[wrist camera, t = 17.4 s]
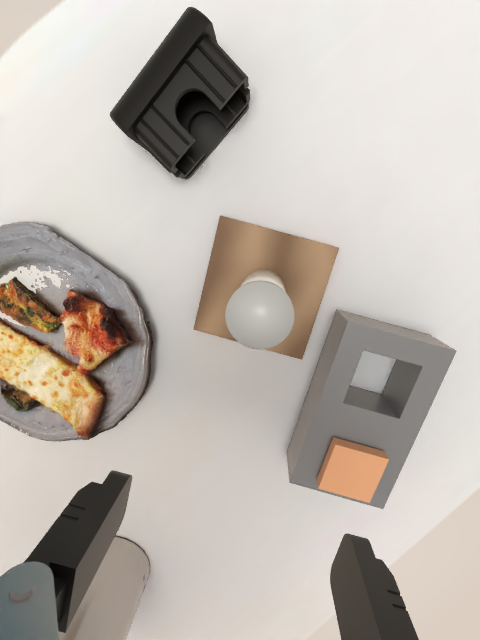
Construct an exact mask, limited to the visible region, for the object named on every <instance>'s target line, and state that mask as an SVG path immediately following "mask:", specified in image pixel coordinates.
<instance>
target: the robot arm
mask: <svg viewBox="0 0 480 640" xmlns="http://www.w3.org/2000/svg"><path fill="white" fill-rule="evenodd" d="M131 481H132V475H128V474H125V473H121V472H117V471H113V470H112V471H111V472H110V473H109V475H108V476H107V478H106V479H105V481H104V482H103V484H98V483H95V482H91V483H89V484H88V485H86V486H85V487H83V488H82V489H80V490H79V491H78V492H77V493H76V495H75V496H74V497H73V499H72V500H71V501H70V503H69V505H68V506H67V507H66V508H65V509H64V511H63V512H62V513H61V515H60V517H58V519H57V520H56V521H55V523H54V524H53V525H52V526H51V528H50V529H49V530H48V532H47V533H46V534H45V536H44V537H43V538H42V540H41V541H40V542H39V544H38V545H37V546H36V548H35V549H34V550H33V552H32V553H31V554H30V556H29V557H28V558H27V559H26V560H25V561H24V562H23V563H22V564H19V565H17V566H15V567H13V568H11V569H10V570H8V571H7V572H6V573H4V574H3V575H2V576H1V577H0V640H126V638H127V635H128V632H129V629H130V627H131V624H132V621H133V618H134V615H135V613H136V610H137V607H138V604H139V601H140V598H141V595H142V593H143V591H144V588H145V585H146V581H147V578H148V575H149V572H150V565H149V561H148V558H147V556H146V555H145V553H144V552H143V551H142V550H141V549H140V548H139V547H138V546H137V545H135V544H134V543H132V542H130V541H128V540H126V539H123V538H119V537H115V535H116V533H117V531H118V529H119V527H120V525H121V522H122V520H123V517H124V514H125V510H126V506H127V501H128V496H129V491H130V486H131ZM330 583H331V590H332V595H333V600H334V605H335V610H336V615H337V620H338V624H339V629H340V635H341V640H419V639H418V637H417V634H416V632H415V629H414V627H413V624H412V622H411V619H410V617H409V614H408V611H406V607H405V604H404V601H403V599H402V597H401V596H400V591H399V589H398V586H397V584H396V581H395V579H394V576H393V575H392V573H391V572H390V571H389V569H388V568H387V566H386V565H385V564H384V562H383V561H382V560H380V559H376V558H375V555H374V552H373V550H372V547H371V544H370V542H369V540H368V539H366V538H362V537H358V536H354V535H351V534H345V535H344V537H343V539H342V541H341V544H340V546H339V549H338V551H337V554H336V556H335V559H334V561H333V564H332V567H331V574H330Z"/></svg>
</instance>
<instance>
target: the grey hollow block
mask: <svg viewBox="0 0 480 640" xmlns="http://www.w3.org/2000/svg"><path fill="white" fill-rule="evenodd" d="M363 350H365V351H369V352H372V353H376V354H380V355H383V356H387V357H391V358H394V359H397V360H396V362H395V364H394V367H393V369H392V372H391V374H390V376H389V379H388V381H387V384H386V386H385V388H384V391H383V393H382V395H381V394H378V393H374V392H371V391H367V390H363V389H360V388H356V387H353V386H350V383H351V381H352V378H353V375H354V373H355V370H356V368H357V365H358V362H359V360H360V357H361V355H362V352H363ZM455 353H456V350H454V349H453V348H451V347H449V346H447V345H446V344H444V343H442V342H441V341H439V340H437V339H436V338H434V337H432V336H431V335H428V334H425V333H421V332H417V331H414V330H410V329H406V328H403V327H399V326H395V325H392V324H388V323H384V322H381V321H377V320H374V319H370V318H366V317H363V316H359V315H355V314H352V313H348V312H344V311H341V310H336V313H335V316H334V319H333V321H332V324H331V327H330V330H329V333H328V336H327V339H326V342H325V344H324V347H323V350H322V353H321V356H320V359H319V362H318V364H317V367H316V370H315V373H314V376H313V379H312V382H311V384H310V387H309V390H308V393H307V396H306V399H305V402H304V404H303V407H302V410H301V413H300V416H299V419H298V422H297V424H296V427H295V430H294V433H293V436H292V439H291V442H290V444H289V447H288V450H287V459H288V470H289V482H290V483H293V484H296V485H300V486H304V487H307V488H311V489H314V490H318V491H321V492H325V493H328V494H332V495H335V496H339V497H342V498H346V499H349V500H353V501H357V502H360V503H364V504H367V505H371V506H374V507H378V508H381V509H383V508H384V506H385V504H386V501H387V499H388V497H389V495H390V493H391V491H392V488H393V486H394V484H395V482H396V480H397V478H398V476H399V473H400V471H401V469H402V467H403V465H404V463H405V461H406V458H407V456H408V454H409V452H410V450H411V448H412V446H413V443H414V441H415V439H416V437H417V435H418V433H419V431H420V428H421V426H422V424H423V422H424V420H425V418H426V415H427V413H428V411H429V409H430V407H431V405H432V403H433V400H434V398H435V396H436V394H437V392H438V390H439V388H440V385H441V383H442V381H443V379H444V377H445V375H446V373H447V370H448V368H449V366H450V364H451V362H452V360H453V357H454V355H455ZM333 437H335V438H339V439H342V440H346V441H349V442H353V443H356V444H360V445H364V446H367V447H371V448H374V449H378V450H381V451H385V453H386V455H387V456H388V458H389V461H388V463H387V466H386V468H385V470H384V472H383V474H382V477H381V479H380V481H379V483H378V486H377V488H376V490H375V492H374V494H373V497H372V499H371V501H370V503H367V502H364V501H360V500H357V499H353V498H350V497H346V496H342V495H339V494H335V493H332V492H328V491H325V490H321V489H318V485H317V477H318V475H319V472H320V470H321V467H322V464H323V462H324V459H325V457H326V454H327V452H328V449H329V446H330V444H331V441H332V439H333Z"/></svg>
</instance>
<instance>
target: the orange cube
mask: <svg viewBox="0 0 480 640" xmlns="http://www.w3.org/2000/svg"><path fill="white" fill-rule="evenodd" d="M388 461H389V458H388V456H387V455H386V453H385V451H381V450H378V449H374V448H371V447H367V446H364V445H360V444H356V443H353V442H349V441H346V440H342V439H339V438H335V437H333V439H332V441H331V444H330V446H329V449H328V452H327V454H326V457H325V459H324V462H323V464H322V467H321V470H320V472H319V475H318V477H317V485H318V489H321V490H325V491H328V492H332V493H335V494H339V495H342V496H346V497H350V498H353V499H357V500H360V501H364V502H367V503H370V501H371V499H372V497H373V494H374V492H375V490H376V488H377V486H378V483H379V481H380V479H381V477H382V474H383V472H384V470H385V468H386V466H387V463H388Z"/></svg>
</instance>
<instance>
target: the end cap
mask: <svg viewBox="0 0 480 640" xmlns="http://www.w3.org/2000/svg"><path fill="white" fill-rule="evenodd" d="M248 86H249V85H248V77H247V76H246V75H245V73H244V72H243V71H242V70H241V69H240V68H239V67H238V66H237V65H236V64H235V62H234V61H233V60H232V59H231V58H230V57H229V56H228V55H227V54H226V53H225V51H224V50H223V49H222V48H221V47H220V46H219V45H218V44H217V40H216V36H215V32H214V29H213V25H212V22H211V21H210V20H209V19H208V18H207V17H206V16H205V15H204V14H203V13H201V12H200V11H199V10H197V9H196V8H193V7H188V8H187V9H186V11H185V12H184V13H183V15H182V16H181V17H180V19H179V20H178V21H177V23H176V24H175V26H174V27H173V28H172V30H171V31H170V32H169V34H168V35H167V36H166V38H165V39H164V40H163V42H162V43H161V45H160V46H159V47H158V49H157V50H156V51H155V53H154V54H153V55H152V57H151V58H150V59H149V61H148V62H147V64H146V65H145V66H144V68H143V69H142V70H141V72H140V73H139V74H138V76H137V77H136V78H135V80H134V81H133V83H132V84H131V85H130V87H129V88H128V89H127V91H126V92H125V93H124V95H123V96H122V97H121V99H120V100H119V102H118V103H117V104H116V106H115V107H114V108H113V110H112V111H111V112H110V117H111V119H112V120H113V121H114V122H115V124H116V125H117V126H118V127H119V128H120V129H121V130H122V131H123V132H124V133H125V134H126V135H127V136H128V137H130V138H131V139H132V140H134V141H135V142H136V143H138V144H139V145H141V146H142V147H143V148H145V149H146V150H147V151H149V152H150V153H151V154H152V155H153V156H154V157H155V158H156V159H157V160H158V161H159V162H160V163H161V164H162V165H163V166H164V167H165V168H166V169H167V170H168V171H169V172H170V173H173V174H174V175H175V176H176V177H181V178H182V179H183V178H184V179H189V178H190V177H191V176H192V175H193V174H194V173H195V171H196V170H197V169H198V168H199V167H200V166H201V164H202V163H203V162H204V161H205V160H206V159H207V157H208V156H209V155H210V154H211V153H212V151H213V150H214V149H215V148H216V147H217V146H218V144H219V143H220V142H221V141H222V140H223V139H224V137H225V136H226V135H227V134H228V133H229V132H230V130H231V129H232V128H233V127H234V126H235V125H236V123H237V122H238V121H239V120H240V119H241V117H242V116H243V115H244V114H245V113H246V112H247V110H248V103H249V101H250V90H249V89H248V88H247V87H248Z"/></svg>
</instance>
